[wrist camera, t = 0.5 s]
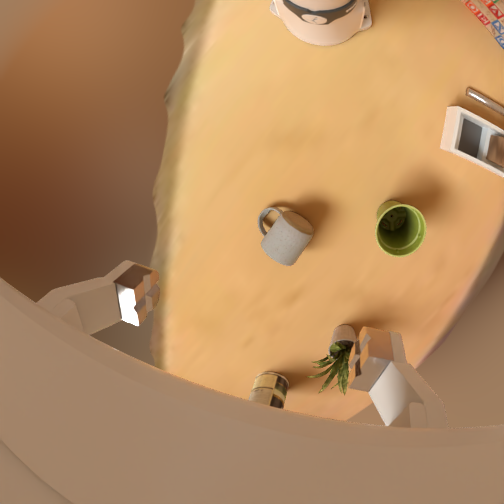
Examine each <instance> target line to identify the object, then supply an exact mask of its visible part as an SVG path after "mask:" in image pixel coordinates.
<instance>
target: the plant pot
mask: <svg viewBox="0 0 504 504" xmlns="http://www.w3.org/2000/svg"><path fill="white" fill-rule="evenodd" d="M399 207H401V209H400V208H399ZM391 215H393V217H391ZM400 220H402V222H401V223H400V224H399V225H397V224H398V223H399V222H400ZM382 222H383V223H384V224H385V225H387V227H385V226H384V225H383V224H382ZM426 228H427V227H426V221H425V218H424V216H423V215H422V213H421V212H420V211H419V210H418V209H416V208H415V207H413V206H411V205H407V204H401V203H399V202H397V201H387V202H384V203H383V204H382V205H381V206H380V207H379V209H378V211H377V224H376V228H375V237H376V241H377V243H378V245H379V247H380V248H381V250H382V251H384V252H385V253H386V254H388V255H390V256H393V257H405V256H408V255H410V254H412V253H414V252H415V251H416V250H417V249H418V248H419V247H420V246H421V245H422V243H423V241H424V239H425V236H426Z"/></svg>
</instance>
